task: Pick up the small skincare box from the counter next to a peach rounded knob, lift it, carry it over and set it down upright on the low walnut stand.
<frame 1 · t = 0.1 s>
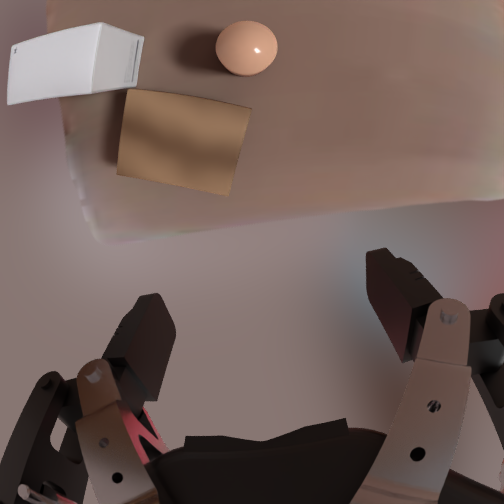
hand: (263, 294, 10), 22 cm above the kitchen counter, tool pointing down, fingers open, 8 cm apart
peach rounded knob: (245, 54, 23), on the kitchen counter
stand: (185, 134, 27), on the kitchen counter
skincare box: (100, 64, 22), on the kitchen counter
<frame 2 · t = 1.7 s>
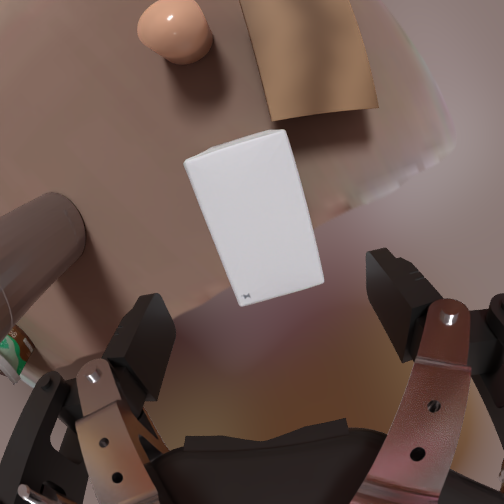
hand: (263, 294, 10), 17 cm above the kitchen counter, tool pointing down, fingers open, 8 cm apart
peach rounded knob: (186, 41, 19), on the kitchen counter
stand: (302, 55, 20), on the kitchen counter
skincare box: (256, 189, 26), on the kitchen counter
food container: (14, 328, 36), on the kitchen counter
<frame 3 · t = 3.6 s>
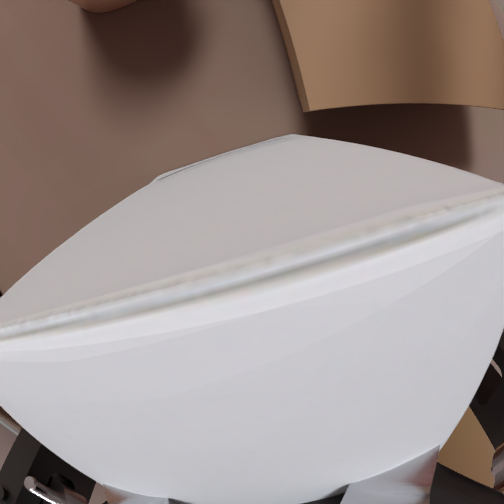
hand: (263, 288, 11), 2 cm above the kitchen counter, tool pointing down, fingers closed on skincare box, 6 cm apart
skincare box: (261, 259, 13), on the kitchen counter, touching gripper
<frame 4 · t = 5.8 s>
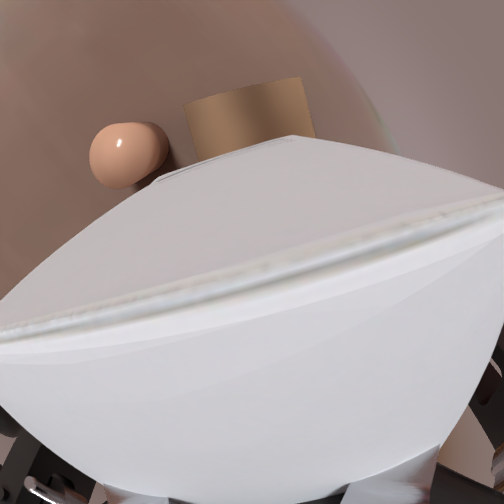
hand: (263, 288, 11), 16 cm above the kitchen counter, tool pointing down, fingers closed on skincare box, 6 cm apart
peach rounded knob: (143, 147, 23), on the kitchen counter
stand: (259, 157, 24), on the kitchen counter
skincare box: (261, 260, 13), point 14 cm above the kitchen counter, touching gripper
when the fingers open (8 cm above the kitchen counter, at t = 8.1 s): skincare box drops 1 cm, resting on stand.
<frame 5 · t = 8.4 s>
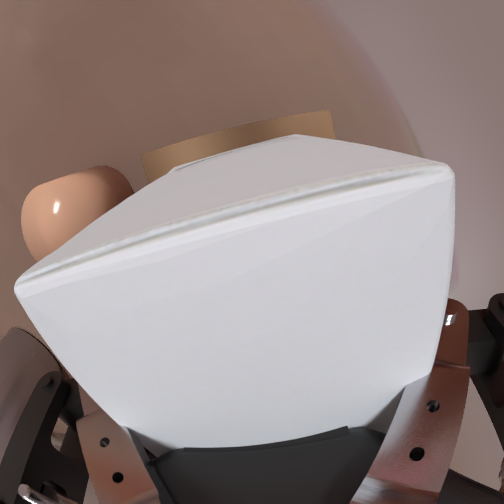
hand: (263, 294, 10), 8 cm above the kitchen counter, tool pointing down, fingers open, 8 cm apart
peach rounded knob: (102, 201, 17), on the kitchen counter
stand: (259, 221, 18), on the kitchen counter
skincare box: (264, 247, 14), point 4 cm above the kitchen counter, touching stand
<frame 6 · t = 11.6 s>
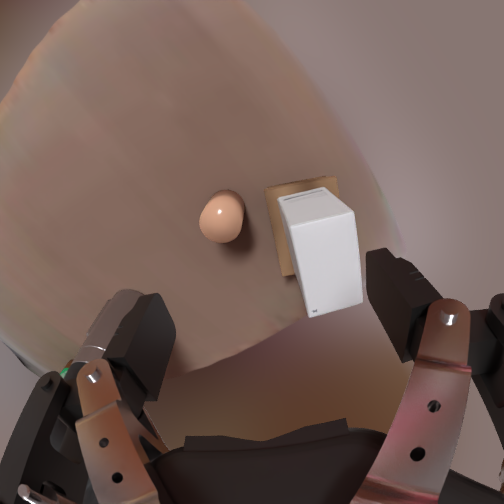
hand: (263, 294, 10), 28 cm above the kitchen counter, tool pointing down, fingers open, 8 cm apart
peach rounded knob: (226, 207, 38), on the kitchen counter
stand: (303, 219, 38), on the kitchen counter
skincare box: (310, 229, 35), point 4 cm above the kitchen counter, touching stand
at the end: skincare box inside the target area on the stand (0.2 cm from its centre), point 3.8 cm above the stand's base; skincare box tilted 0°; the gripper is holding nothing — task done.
